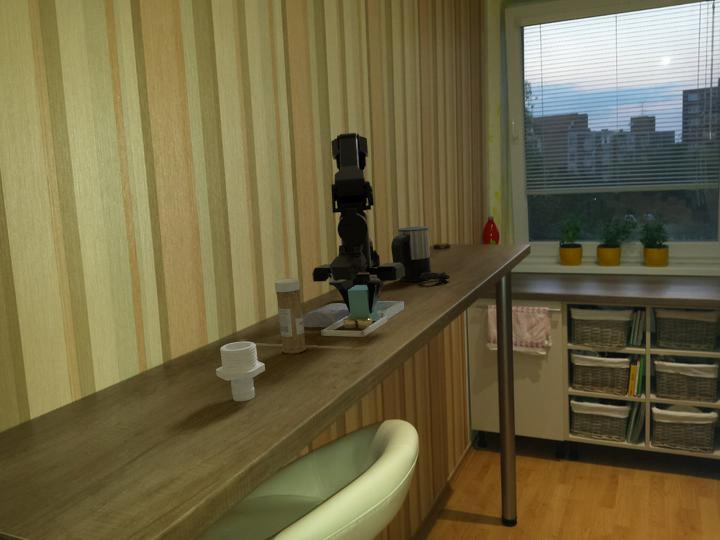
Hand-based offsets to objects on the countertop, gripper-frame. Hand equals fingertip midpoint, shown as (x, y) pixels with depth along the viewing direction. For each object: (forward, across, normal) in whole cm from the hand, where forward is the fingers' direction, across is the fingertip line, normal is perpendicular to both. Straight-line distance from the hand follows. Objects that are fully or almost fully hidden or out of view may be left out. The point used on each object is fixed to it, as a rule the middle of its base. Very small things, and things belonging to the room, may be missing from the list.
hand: (361, 313), depth 136 cm
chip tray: (+3, 0, -4) cm, 4 cm away
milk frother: (+3, -3, +51) cm, 51 cm away
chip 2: (+2, +2, -2) cm, 4 cm away
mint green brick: (+2, 0, +1) cm, 2 cm away
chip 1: (+2, -2, -2) cm, 4 cm away
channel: (+3, 0, +8) cm, 9 cm away
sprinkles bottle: (+3, -6, -19) cm, 20 cm away
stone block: (+3, -10, +2) cm, 10 cm away
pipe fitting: (+3, -1, -43) cm, 43 cm away
